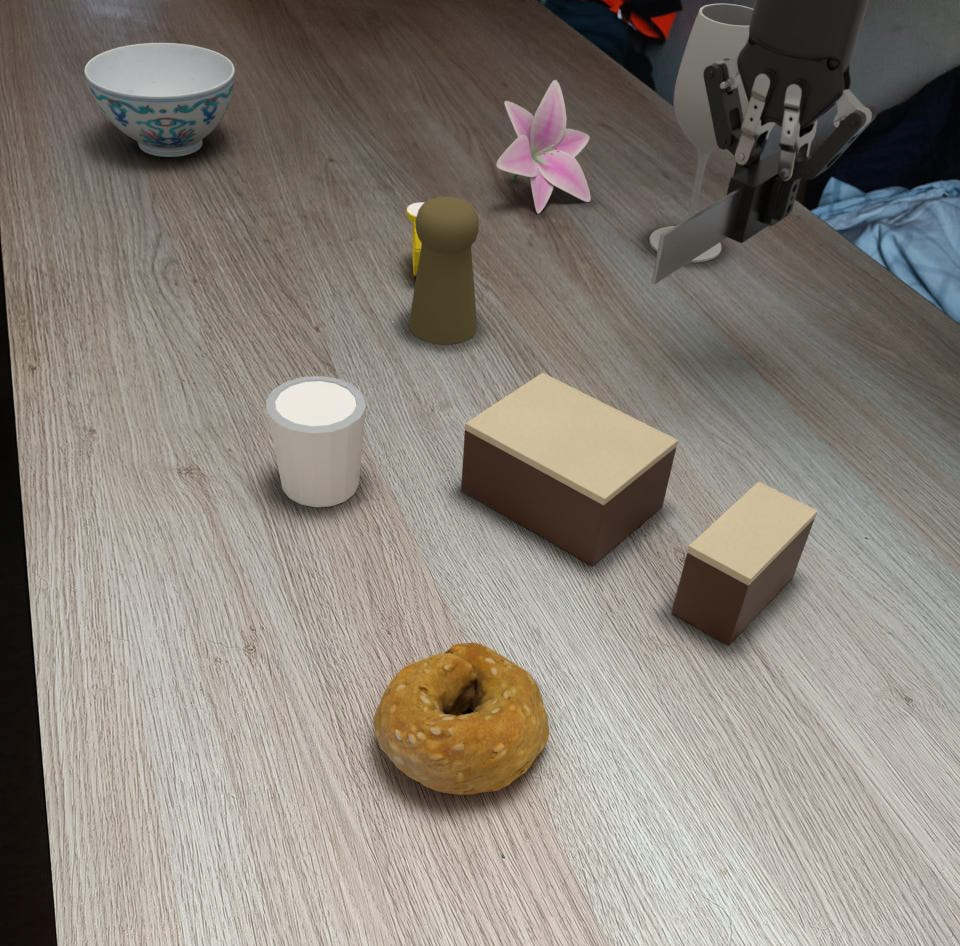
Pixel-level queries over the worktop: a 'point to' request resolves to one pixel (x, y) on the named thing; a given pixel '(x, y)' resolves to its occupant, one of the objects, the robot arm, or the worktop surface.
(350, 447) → the cup of milk
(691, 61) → the wineglass
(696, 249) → the knife
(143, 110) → the chinaware
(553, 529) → the cake loaf
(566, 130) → the lily
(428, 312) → the chess pawn piece
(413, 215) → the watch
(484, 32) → the worktop surface
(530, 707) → the bagel
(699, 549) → the cake slice
